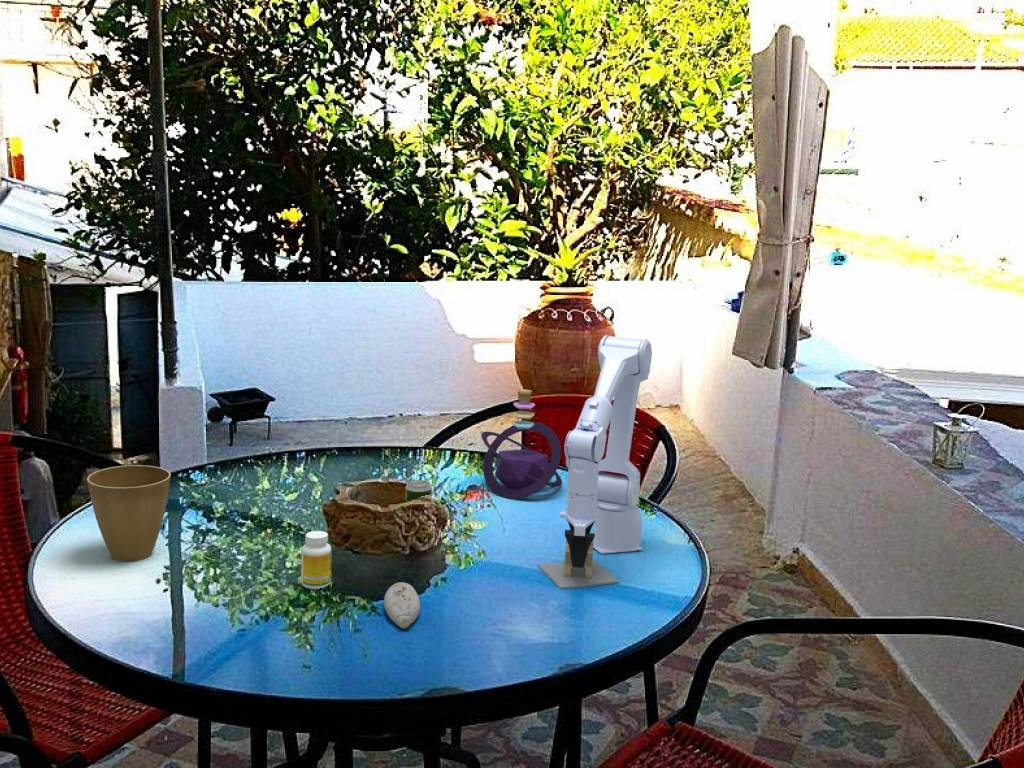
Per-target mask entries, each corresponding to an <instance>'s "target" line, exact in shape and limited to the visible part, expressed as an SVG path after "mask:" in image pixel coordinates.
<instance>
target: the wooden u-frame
mask: <svg viewBox="0 0 1024 768" xmlns="http://www.w3.org/2000/svg"><path fill="white" fill-rule="evenodd" d="M593 540H594V539H593ZM564 551H565V553H564V554H565V555H564V562H565V567H564V577H570V575H571V564H572V562H571V555H570V548H569V544H568V542H567V539H566V538H565V549H564ZM593 553H594V548H593V541H592V542H591V544H590V546H589V549H588V552H587V557H586V570H585V578H589V579H591V576H592V559H594V557H593V556H594V554H593Z"/></svg>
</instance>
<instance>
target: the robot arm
mask: <svg viewBox="0 0 1024 768" xmlns="http://www.w3.org/2000/svg"><path fill="white" fill-rule="evenodd" d="M598 344H599V345H598V348H597V349H598V350H597V356H598V362H599V363H598V364H599V367H600V373H599V377H598V379H597V383H596V387H595V391H594V394H593V396H591V397H589V398H588V399H586V400H585V402H584V404H583V408H582V411H581V413H580V416H579V418H578V420H577V422H576V426H575V428H573V430H569V431H568V433H567V434H566V438H565V441H564V449H563V450H564V455H565V466H566V468H568V474H567V487H566V488H567V489H566V490H567V492H566V509H565V510H566V511H565V510H564V511H563V510H561V511H560V512H559V517H560V518H561V519H563V518H564V519H566V521H567V524H568V526H569V529H565V530H564V537H565V540H566V539H567V542H568V544H569V548H570V555H571V562H572V567H577V568H583V567H584V564H585V561H586V557H587V552H588V549H589V546H590V544H591V542H592V541H593V549H595V550H596V551H597V552H598V553H599V554H601V555H603V554H605V555H606V554H617V553H626V552H627V553H628V552H637V551H636V550H639V551H642V550H643V547H642V546H641V541H642V528H643V525H642V524H643V517H642V516H643V515H642V512H641V509H640V508H639V506H638V505H637V503H638V501H639V499H640V493H641V483H640V482H641V472H640V470H639V469H638V468H637V467H636V466H635V465H634V464H633V463H632V462H631V461H630V456H631V455H630V453H631V449H632V447H631V446H632V438H633V432H634V425H635V420H636V419H635V418H636V412H637V404H638V398H639V397H638V396H639V390H640V387H641V383H642V382H645V381H646V380H648V379H649V375H650V372H651V371H650V370H651V364H652V356H653V352H652V351H653V349H652V344H651V342H650V341H649V339H647V338H644V339H641V338H631V337H620V336H619V337H618V336H611V335H609V334H608V335H604V336H603V337H602V338H601V339H600V341H599V343H598ZM612 402H613V404H612ZM608 428H609V430H608ZM607 431H609V433H608V436H607ZM607 438H608V440H607ZM606 442H607V446H606ZM605 448H606V449H605ZM605 450H606V453H605ZM604 454H605V457H604V458H603V456H604ZM607 472H609V473H607ZM610 472H611V474H610ZM613 473H615V474H613ZM616 473H617V474H616ZM618 474H623V475H618ZM624 475H625V476H624ZM592 528H594V529H593V533H592V532H591V530H592ZM593 539H594V540H593Z"/></svg>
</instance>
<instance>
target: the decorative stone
mask: <svg viewBox="0 0 1024 768" xmlns="http://www.w3.org/2000/svg"><path fill="white" fill-rule="evenodd" d="M418 595H419V594H418V593H417V591H416V589H415V588H414V586H412V585H411V584H410V583H407V582H402V581H401V582H396V583H393V584H392V585H391V586H390V587H388V589H387V591H386V592H385V594H384V597H383V606H384V611H385V612H386V615H387V616H388V617H389V618H390V619H391V621H392V622H393V623H394V624H395V625H397V626H398V627H399V628H402V629H406V628H408V627H409V626H411V624H412V623H414V622H415V621H416V619H417V618H418V616H419V614H420V610H421V603H420V602H421V601H420V598H419V596H418Z"/></svg>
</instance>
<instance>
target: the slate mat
mask: <svg viewBox="0 0 1024 768" xmlns="http://www.w3.org/2000/svg"><path fill="white" fill-rule="evenodd" d="M537 567H538V568H539V569H540V570H541V571H542V572H543V573H544V574H545V575H546V576H547V577H548V579H550V580H551V581H552V582H553V583H554V584H555V586H557V587H558V588H559V589H560V590H565V589H577V588H586V587H597V586H607V585H606V584H608V585H615V584H614V583H618V584H620V580H618V579H617V578H616V577H615V576H614V575H613V574H612V573H611V572H609V571H608V570H607V569H606V568H604V567H603V566H602V565H601V564H600V563H598V561H596V560H595V559H594V558H593V559H592V576H591V579H589V578H585V570H586V561H585V564H584V567H583V568H577V567H572V564H571V575H570V577H564V567H565V561H562V562H550V563H537Z"/></svg>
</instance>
